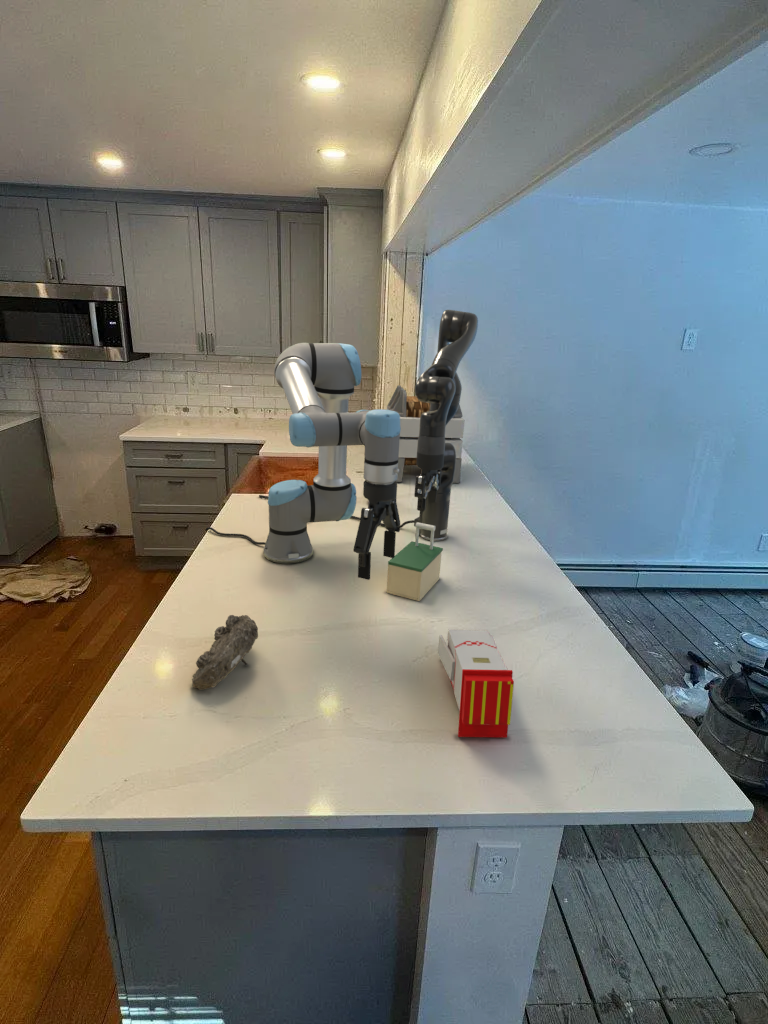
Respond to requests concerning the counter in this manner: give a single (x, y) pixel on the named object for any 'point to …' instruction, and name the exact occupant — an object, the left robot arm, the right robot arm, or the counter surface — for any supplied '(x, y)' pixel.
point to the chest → (413, 580)
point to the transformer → (410, 426)
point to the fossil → (225, 651)
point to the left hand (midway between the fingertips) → (376, 567)
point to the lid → (417, 552)
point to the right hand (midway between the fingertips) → (426, 506)
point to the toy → (478, 682)
